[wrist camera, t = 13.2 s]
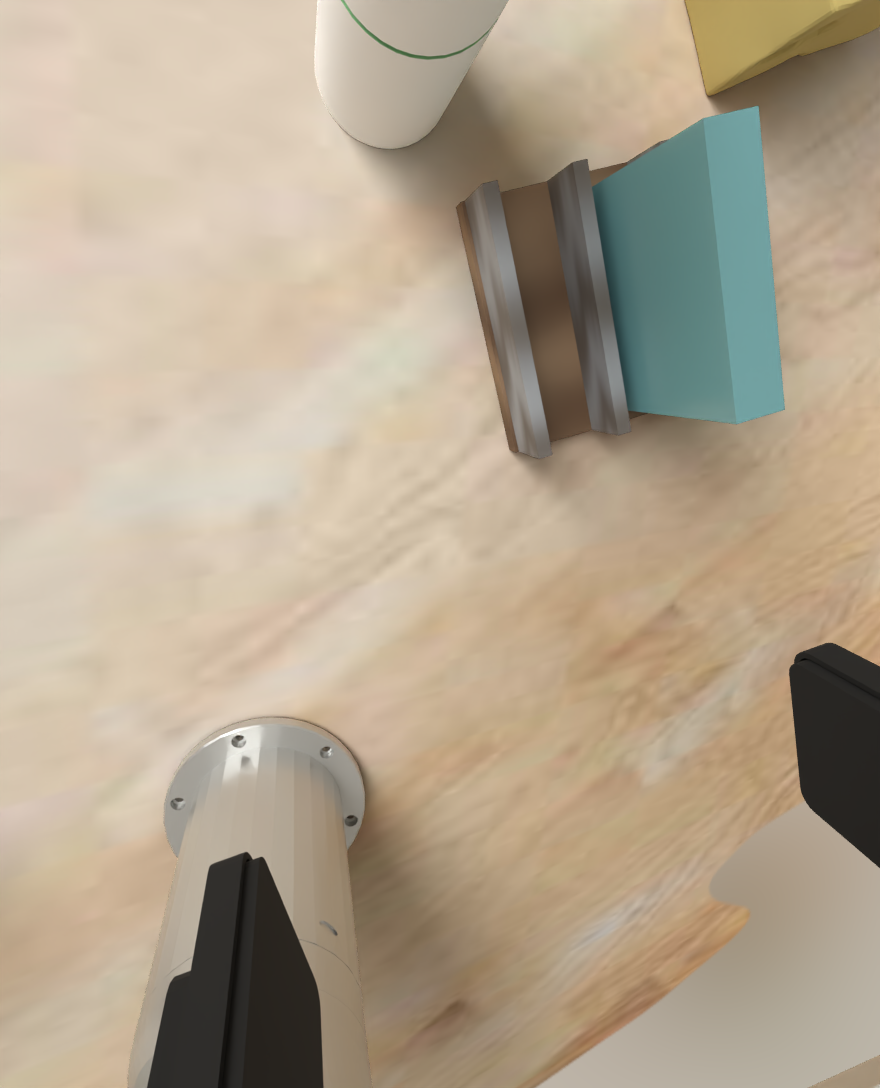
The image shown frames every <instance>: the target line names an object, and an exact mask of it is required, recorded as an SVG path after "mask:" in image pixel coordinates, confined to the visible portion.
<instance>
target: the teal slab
mask: <svg viewBox="0 0 880 1088" xmlns="http://www.w3.org/2000/svg"><path fill="white" fill-rule="evenodd" d="M592 191H593V197H594V204H595V210H596V216H597V222H598V228H599V234H600V241H601V247H602V253H603V259H604V265H605V272H606V278H607V284H608V290H609V296H610V303H611V309H612V315H613V321H614V327H615V334H616V340H617V346H618V352H619V358H620V365H621V371H622V377H623V383H624V389H625V396H626V402H627V408H628V411H636V412H644V413H652V414H660V415H668V416H676V417H684V418H691V419H699V420H707V421H715V422H723V423H731V424H739V423H742V422H746V421H749V420H752V419H756V418H759V417H762V416H765V415H769V414H772V413H775V412H779V411H782V410H785V406H784V395H783V383H782V372H781V360H780V349H779V337H778V325H777V314H776V302H775V291H774V279H773V268H772V256H771V244H770V233H769V221H768V210H767V198H766V187H765V175H764V163H763V152H762V140H761V129H760V117H759V106H755V107H750V108H746V109H742V110H737V111H733V112H729V113H724V114H720V115H716V116H712V117H707V118H703V119H701V120H700V121H698V122H697V123H695V124H693V125H692V126H690V127H688V128H687V129H685V130H684V131H682V132H680V133H679V134H677V135H675V136H674V137H672V138H671V139H669V140H667V141H666V142H664V143H662V144H661V145H659V146H658V147H656V148H654V149H653V150H651V151H649V152H648V153H646V154H645V155H643V156H641V157H640V158H638V159H636V160H635V161H633V162H632V163H630V164H628V165H627V166H625V167H623V168H622V169H620V170H619V171H617V172H615V173H614V174H612V175H610V176H609V177H607V178H606V179H604V180H602V181H601V182H599V183H597V184H596V185H594V186H593V187H592Z"/></svg>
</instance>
